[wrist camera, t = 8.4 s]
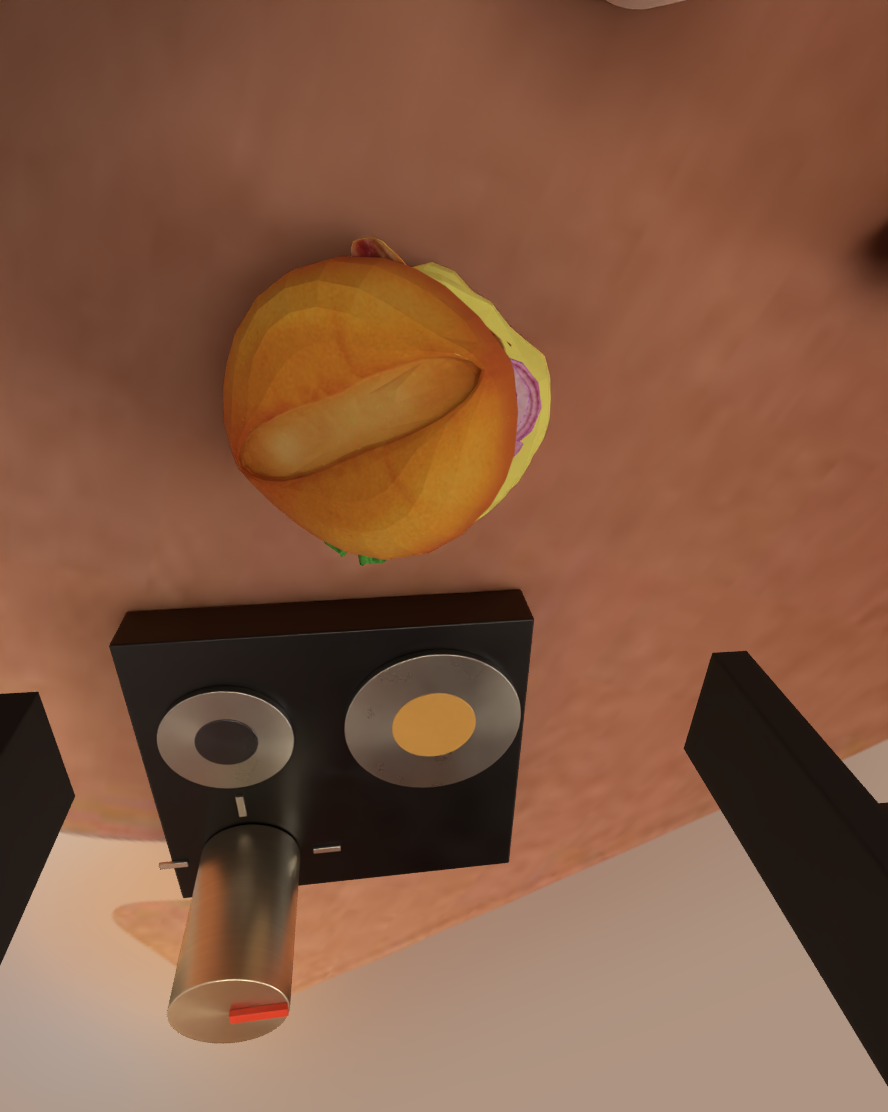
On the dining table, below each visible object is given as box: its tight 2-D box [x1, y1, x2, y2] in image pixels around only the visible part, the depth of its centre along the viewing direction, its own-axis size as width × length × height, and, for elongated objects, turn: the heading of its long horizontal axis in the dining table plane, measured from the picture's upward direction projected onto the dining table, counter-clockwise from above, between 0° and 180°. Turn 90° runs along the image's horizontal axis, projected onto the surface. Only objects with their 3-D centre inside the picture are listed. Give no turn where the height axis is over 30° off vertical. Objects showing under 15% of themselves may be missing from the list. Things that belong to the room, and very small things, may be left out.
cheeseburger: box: [223, 237, 551, 566], centre depth 22 cm, size 10×11×10 cm
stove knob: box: [167, 824, 300, 1043], centre depth 31 cm, size 5×5×8 cm
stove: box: [109, 590, 534, 898], centre depth 33 cm, size 19×19×3 cm
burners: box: [157, 650, 521, 788], centre depth 30 cm, size 8×17×1 cm, turn 89°
